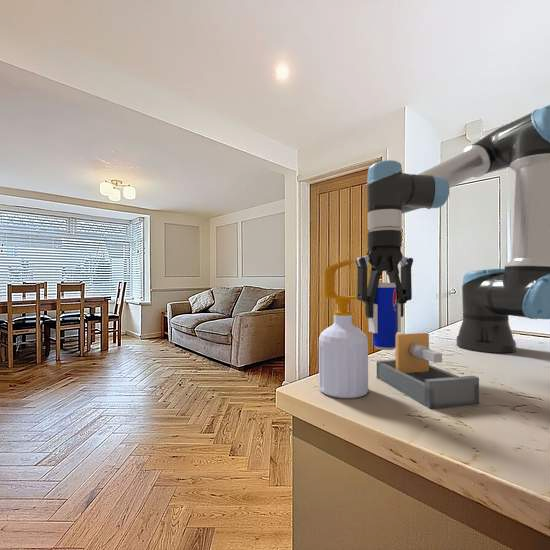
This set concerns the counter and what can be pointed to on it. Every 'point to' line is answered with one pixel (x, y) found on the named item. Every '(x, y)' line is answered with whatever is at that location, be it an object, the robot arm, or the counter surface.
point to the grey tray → (431, 385)
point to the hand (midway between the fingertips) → (384, 331)
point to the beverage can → (386, 317)
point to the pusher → (414, 353)
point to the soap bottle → (342, 348)
